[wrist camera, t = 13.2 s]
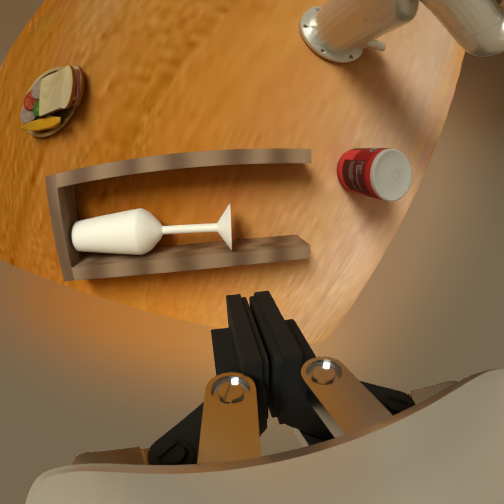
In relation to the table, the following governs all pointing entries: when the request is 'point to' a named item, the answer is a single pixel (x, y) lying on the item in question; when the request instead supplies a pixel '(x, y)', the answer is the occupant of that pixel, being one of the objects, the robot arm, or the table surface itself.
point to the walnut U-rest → (167, 257)
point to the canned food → (375, 172)
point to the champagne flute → (136, 232)
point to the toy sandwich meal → (52, 100)
